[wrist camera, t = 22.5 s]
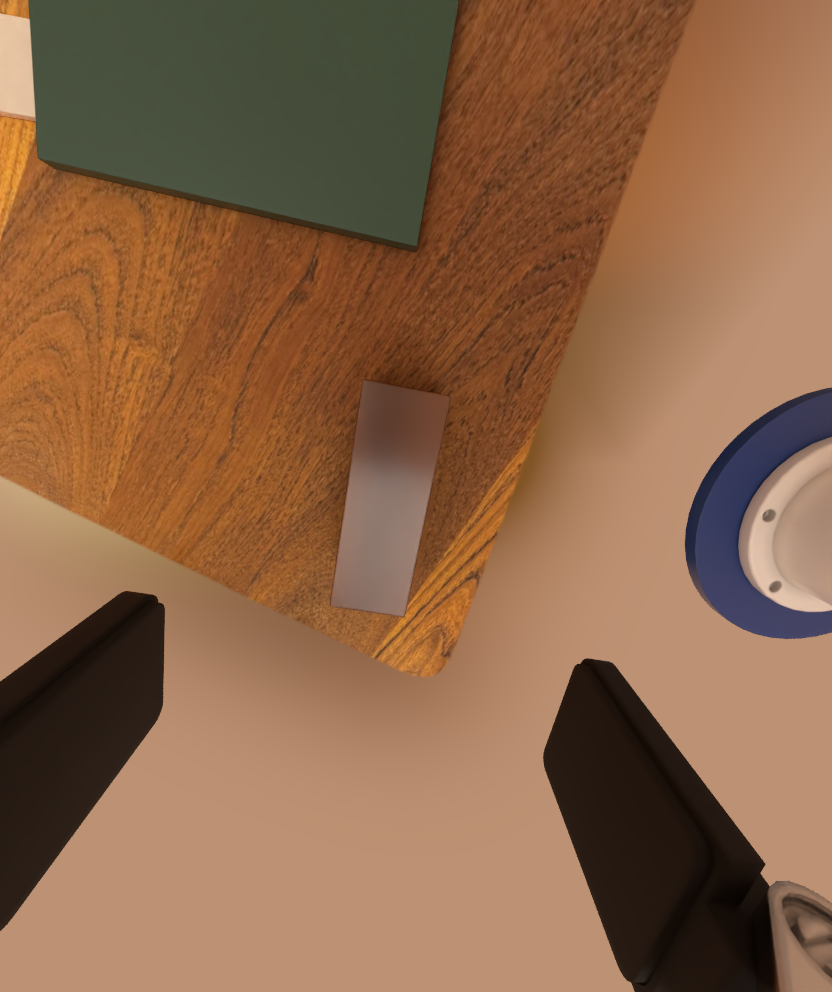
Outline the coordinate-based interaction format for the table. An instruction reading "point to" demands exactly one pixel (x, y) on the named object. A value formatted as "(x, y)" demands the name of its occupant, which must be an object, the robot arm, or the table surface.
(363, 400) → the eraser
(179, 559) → the table surface
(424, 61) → the chalkboard
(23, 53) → the chalk mark
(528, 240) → the table surface
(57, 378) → the table surface
